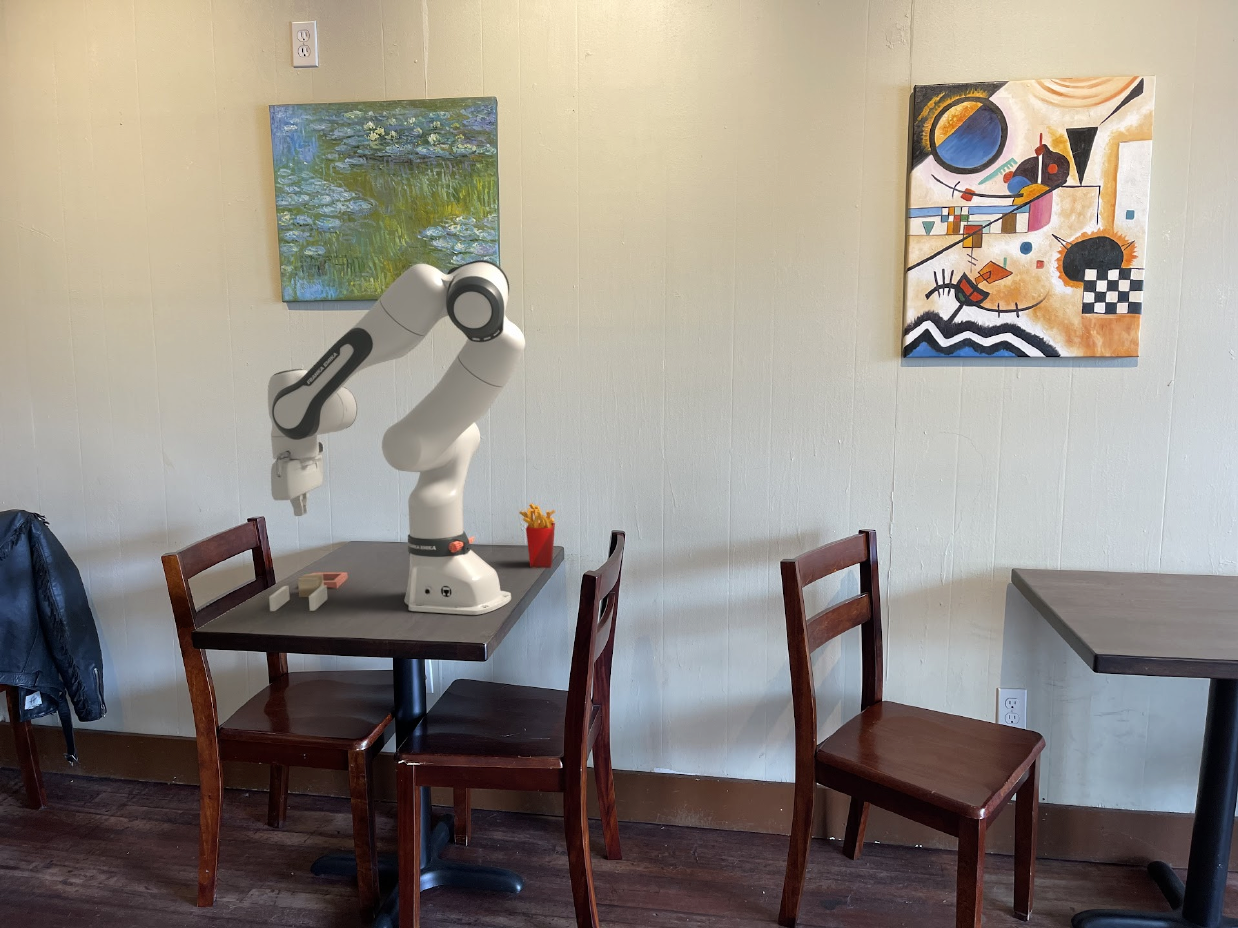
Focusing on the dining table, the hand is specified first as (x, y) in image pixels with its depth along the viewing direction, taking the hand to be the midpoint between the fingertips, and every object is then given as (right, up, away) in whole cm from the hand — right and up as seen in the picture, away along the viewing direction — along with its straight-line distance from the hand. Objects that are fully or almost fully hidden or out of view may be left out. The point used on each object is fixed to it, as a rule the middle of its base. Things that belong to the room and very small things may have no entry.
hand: (300, 514), depth 177 cm
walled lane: (0, -19, 0) cm, 19 cm away
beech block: (-1, -18, +8) cm, 19 cm away
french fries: (+46, -14, +30) cm, 57 cm away
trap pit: (0, -17, +16) cm, 23 cm away
